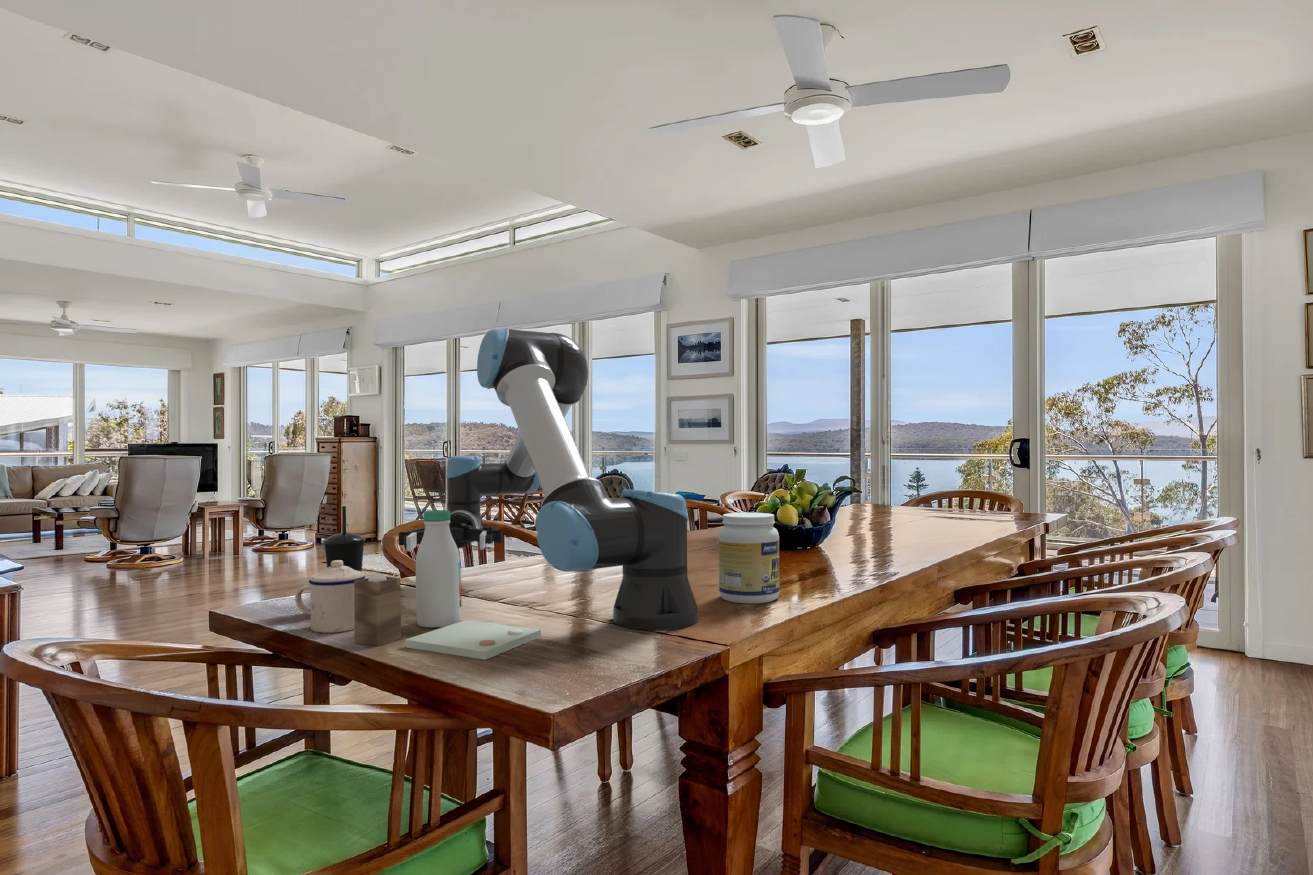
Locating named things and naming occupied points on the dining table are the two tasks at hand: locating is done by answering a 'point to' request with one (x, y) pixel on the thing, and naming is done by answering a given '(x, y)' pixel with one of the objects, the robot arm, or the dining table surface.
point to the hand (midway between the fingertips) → (445, 543)
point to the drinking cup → (345, 547)
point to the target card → (473, 639)
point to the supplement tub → (749, 558)
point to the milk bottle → (438, 574)
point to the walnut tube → (377, 611)
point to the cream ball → (377, 577)
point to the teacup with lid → (331, 598)
